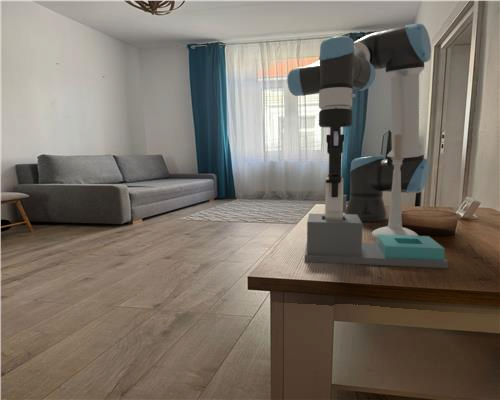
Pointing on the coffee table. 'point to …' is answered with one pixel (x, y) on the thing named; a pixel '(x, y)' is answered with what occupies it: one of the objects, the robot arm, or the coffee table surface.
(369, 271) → the coffee table surface
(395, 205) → the candlestick
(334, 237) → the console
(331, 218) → the plug
